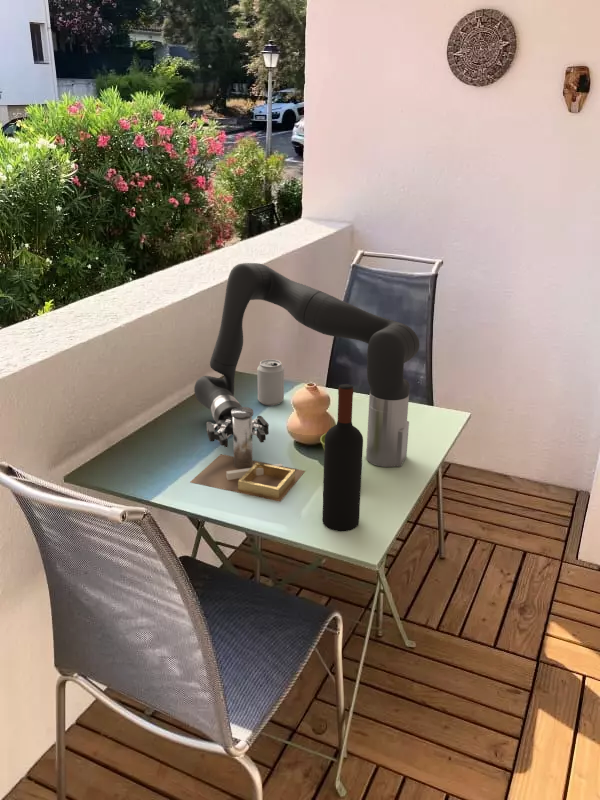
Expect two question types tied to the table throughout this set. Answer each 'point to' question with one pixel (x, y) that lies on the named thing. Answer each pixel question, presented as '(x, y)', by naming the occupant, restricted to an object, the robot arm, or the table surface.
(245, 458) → the silver cylindrical piece
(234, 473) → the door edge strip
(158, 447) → the table surface
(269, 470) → the keeper
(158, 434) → the table surface
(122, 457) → the table surface
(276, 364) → the can
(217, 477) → the board
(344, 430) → the wine bottle
